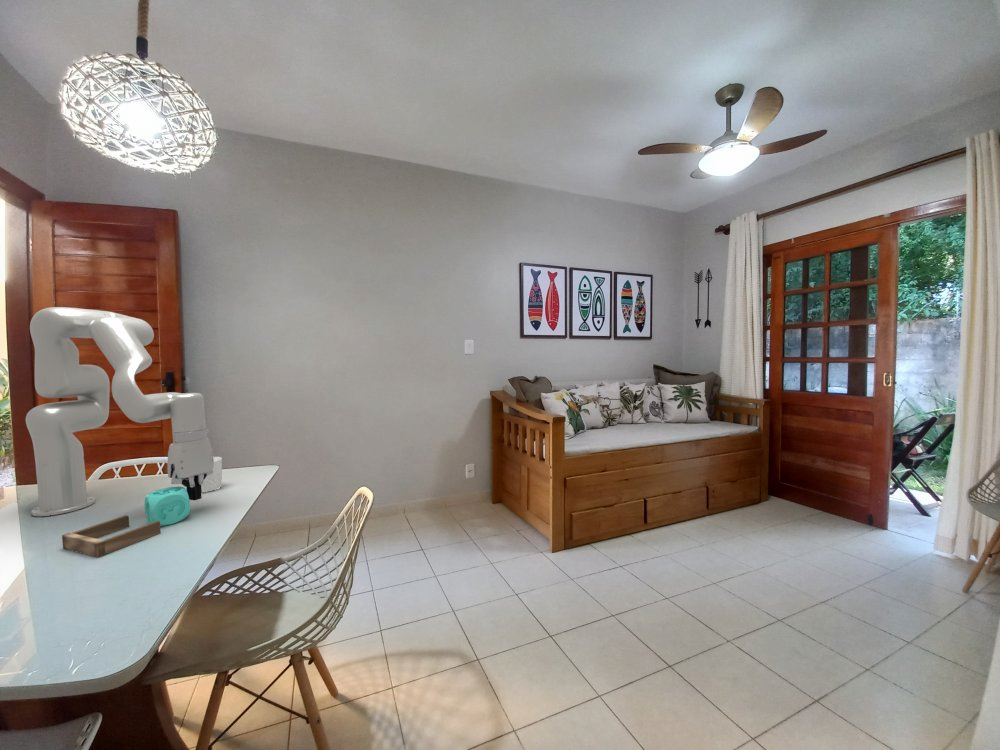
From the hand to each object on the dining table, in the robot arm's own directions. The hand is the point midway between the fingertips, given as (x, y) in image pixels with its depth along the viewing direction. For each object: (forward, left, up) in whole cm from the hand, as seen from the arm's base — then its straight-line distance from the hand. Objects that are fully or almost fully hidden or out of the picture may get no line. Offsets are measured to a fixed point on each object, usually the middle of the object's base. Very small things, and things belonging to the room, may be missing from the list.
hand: (194, 498), depth 113 cm
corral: (0, -18, -4) cm, 18 cm away
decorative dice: (0, -7, -4) cm, 8 cm away
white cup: (-14, +14, -4) cm, 20 cm away
